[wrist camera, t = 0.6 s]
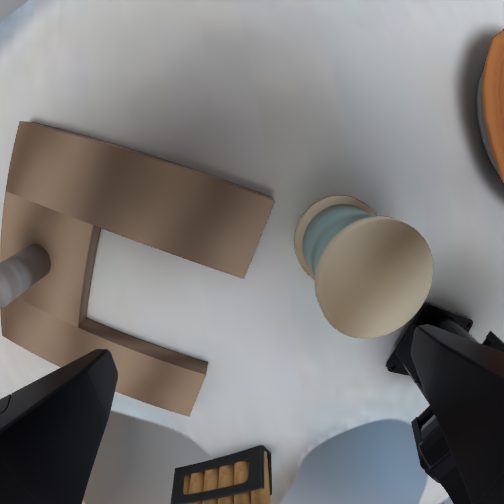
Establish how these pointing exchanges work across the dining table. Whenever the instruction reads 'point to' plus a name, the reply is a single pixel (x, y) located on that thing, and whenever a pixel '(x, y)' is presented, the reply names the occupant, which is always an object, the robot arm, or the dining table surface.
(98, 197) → the walnut notched board
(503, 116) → the pie
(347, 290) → the thread spool
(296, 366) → the dining table surface
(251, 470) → the ammunition clip
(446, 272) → the dining table surface
